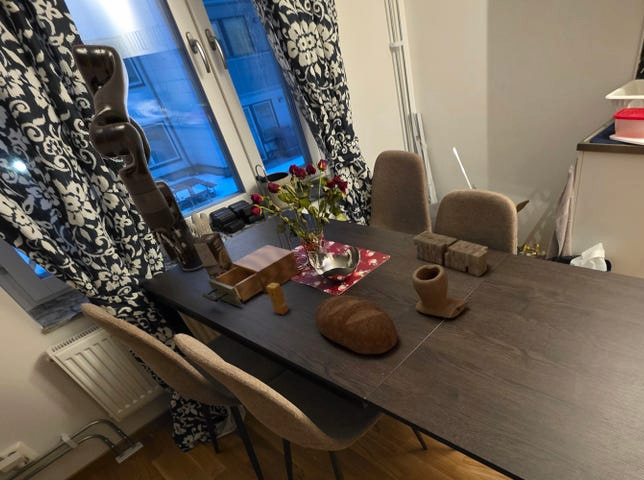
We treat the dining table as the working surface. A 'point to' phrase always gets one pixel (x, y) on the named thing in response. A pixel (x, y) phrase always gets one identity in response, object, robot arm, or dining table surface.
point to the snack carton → (306, 254)
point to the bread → (356, 324)
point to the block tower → (452, 252)
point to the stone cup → (435, 292)
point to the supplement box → (277, 298)
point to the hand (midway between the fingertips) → (181, 260)
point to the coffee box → (213, 255)
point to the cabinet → (270, 265)
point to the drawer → (235, 286)
